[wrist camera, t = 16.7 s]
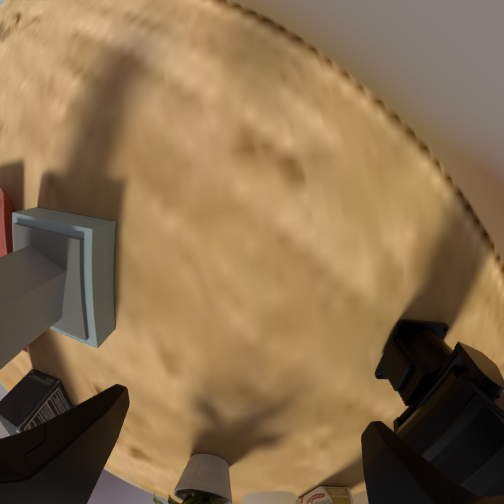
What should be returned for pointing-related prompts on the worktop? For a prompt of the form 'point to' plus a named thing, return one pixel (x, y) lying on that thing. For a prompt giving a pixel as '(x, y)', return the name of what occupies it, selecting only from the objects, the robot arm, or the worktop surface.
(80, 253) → the slate stand
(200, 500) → the house plant
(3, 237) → the plant saucer
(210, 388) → the worktop surface
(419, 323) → the robot arm
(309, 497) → the juice carton
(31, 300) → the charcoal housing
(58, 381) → the small box
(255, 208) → the worktop surface
